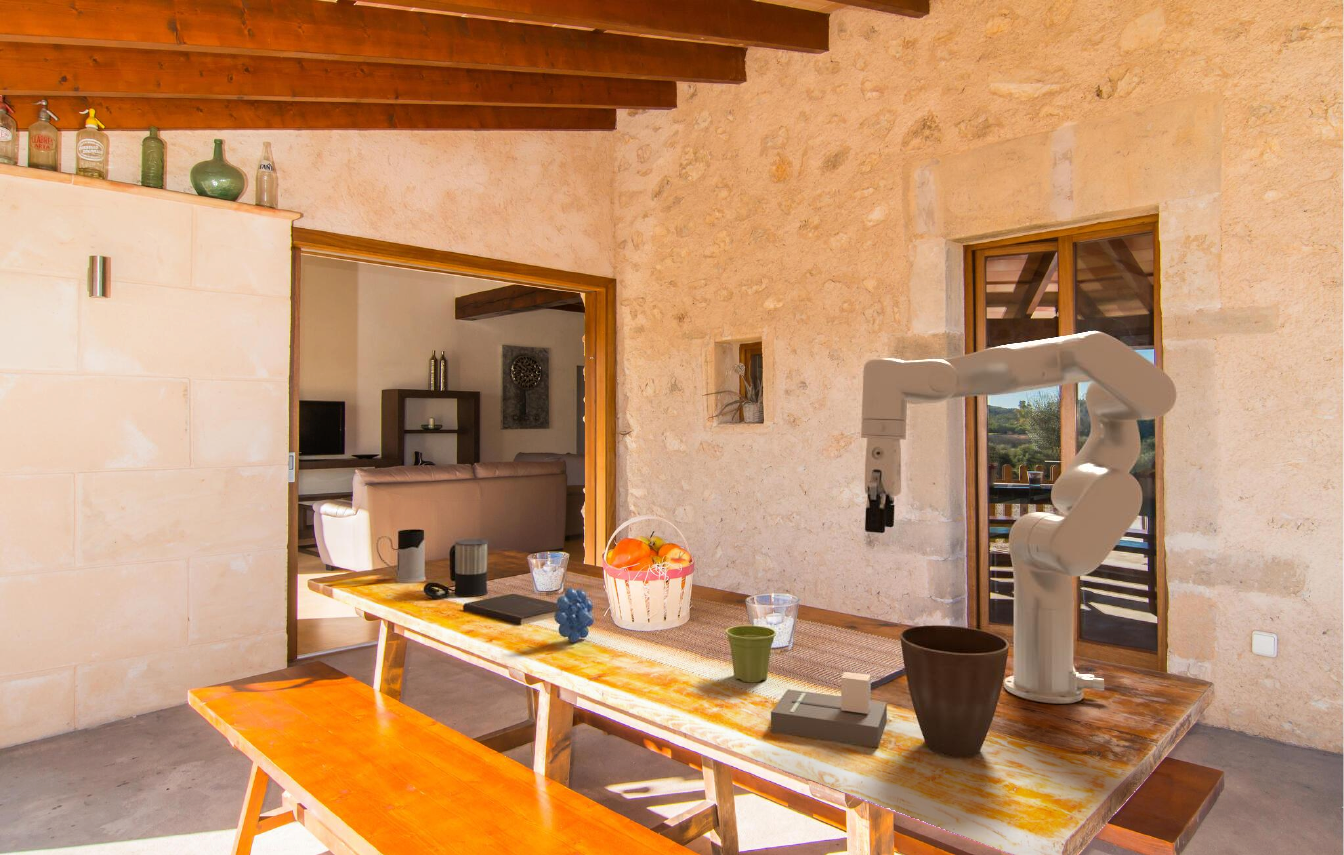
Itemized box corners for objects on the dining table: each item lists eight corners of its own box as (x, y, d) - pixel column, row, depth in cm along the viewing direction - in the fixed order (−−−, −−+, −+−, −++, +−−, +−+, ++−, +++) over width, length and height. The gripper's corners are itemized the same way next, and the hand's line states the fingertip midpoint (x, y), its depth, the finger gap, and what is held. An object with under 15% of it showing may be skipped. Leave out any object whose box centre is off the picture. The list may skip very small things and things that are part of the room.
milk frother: (495, 592, 218) (495, 539, 218) (457, 603, 204) (458, 547, 204) (454, 587, 224) (455, 536, 224) (416, 598, 209) (416, 544, 209)
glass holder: (426, 582, 232) (426, 532, 232) (375, 585, 227) (375, 534, 227) (426, 576, 240) (426, 528, 240) (377, 579, 235) (377, 530, 235)
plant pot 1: (724, 669, 149) (724, 624, 149) (773, 670, 148) (773, 624, 148) (726, 685, 139) (726, 637, 139) (778, 686, 139) (778, 638, 139)
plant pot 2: (1029, 768, 106) (1030, 651, 106) (924, 772, 104) (924, 654, 104) (978, 726, 121) (978, 624, 121) (884, 729, 119) (885, 625, 119)
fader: (870, 707, 120) (870, 674, 120) (867, 713, 117) (867, 680, 117) (844, 703, 121) (844, 671, 121) (841, 710, 118) (841, 677, 118)
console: (886, 721, 123) (886, 701, 123) (878, 747, 112) (878, 726, 112) (787, 707, 129) (787, 688, 129) (770, 731, 118) (770, 711, 118)
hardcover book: (513, 601, 208) (513, 593, 208) (571, 615, 193) (571, 606, 193) (462, 612, 196) (462, 603, 196) (520, 627, 181) (520, 618, 181)
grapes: (570, 651, 160) (570, 594, 160) (547, 646, 164) (547, 589, 164) (607, 639, 169) (607, 584, 169) (584, 634, 173) (584, 581, 173)
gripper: (898, 430, 124) (894, 536, 124) (912, 432, 140) (908, 526, 140) (851, 429, 128) (847, 532, 127) (870, 430, 143) (866, 522, 143)
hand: (879, 529), depth 134 cm, fingers open, 9 cm apart
